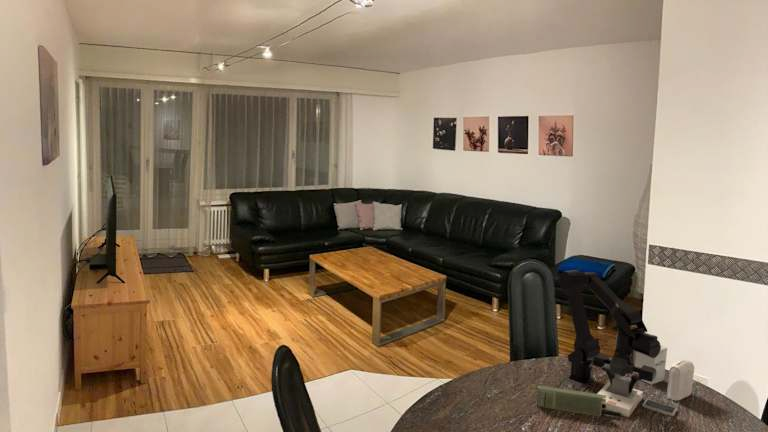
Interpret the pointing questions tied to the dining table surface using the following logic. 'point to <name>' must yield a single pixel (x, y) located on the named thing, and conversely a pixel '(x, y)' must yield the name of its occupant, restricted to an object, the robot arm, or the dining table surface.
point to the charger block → (621, 385)
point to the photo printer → (680, 380)
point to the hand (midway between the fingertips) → (621, 390)
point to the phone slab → (659, 407)
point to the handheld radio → (572, 401)
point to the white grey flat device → (620, 400)
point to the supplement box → (653, 364)
